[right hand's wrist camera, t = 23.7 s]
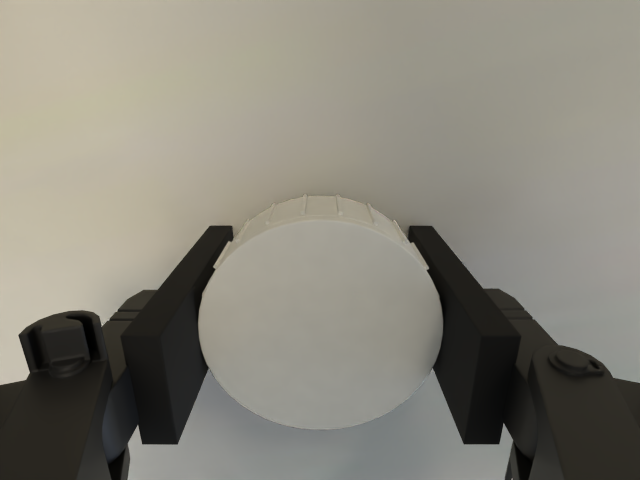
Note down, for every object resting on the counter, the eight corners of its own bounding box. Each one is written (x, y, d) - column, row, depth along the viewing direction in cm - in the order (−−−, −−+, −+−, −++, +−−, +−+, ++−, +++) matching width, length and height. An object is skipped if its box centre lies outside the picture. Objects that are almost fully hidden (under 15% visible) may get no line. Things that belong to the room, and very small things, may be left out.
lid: (441, 352, 13) (465, 404, 11) (256, 395, 13) (244, 452, 11) (401, 165, 11) (421, 184, 9) (183, 226, 11) (153, 258, 9)
